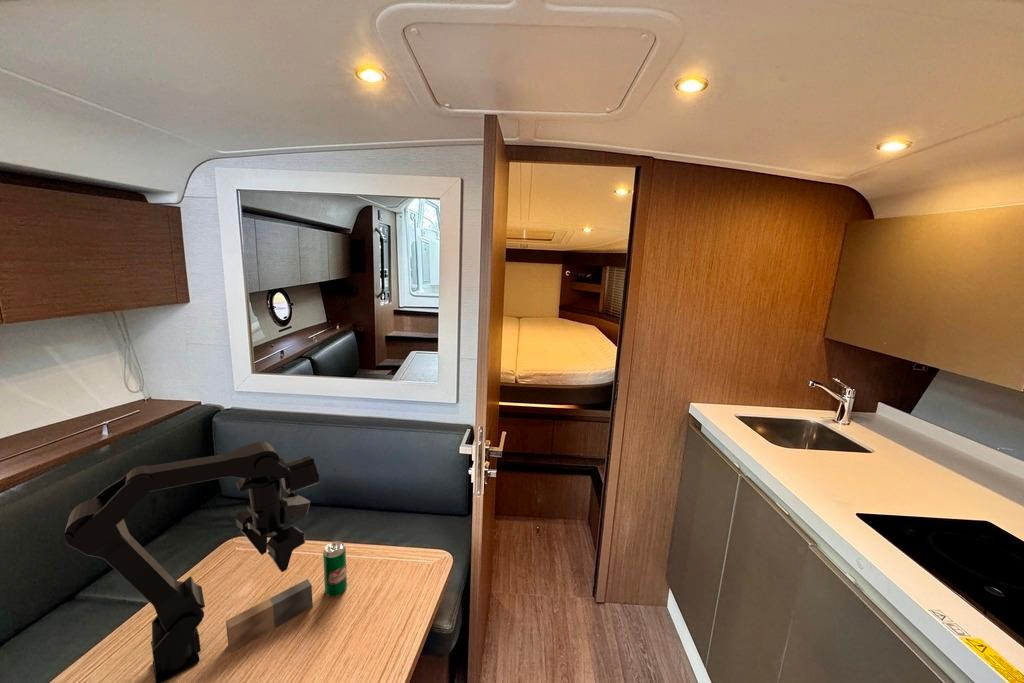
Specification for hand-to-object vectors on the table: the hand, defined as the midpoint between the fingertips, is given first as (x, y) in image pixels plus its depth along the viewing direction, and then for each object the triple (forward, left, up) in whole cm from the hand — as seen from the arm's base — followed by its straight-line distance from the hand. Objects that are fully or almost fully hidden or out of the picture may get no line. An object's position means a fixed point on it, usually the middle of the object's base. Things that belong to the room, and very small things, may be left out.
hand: (273, 561), depth 87 cm
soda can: (+12, -3, -14) cm, 19 cm away
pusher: (-2, -3, -13) cm, 14 cm away
